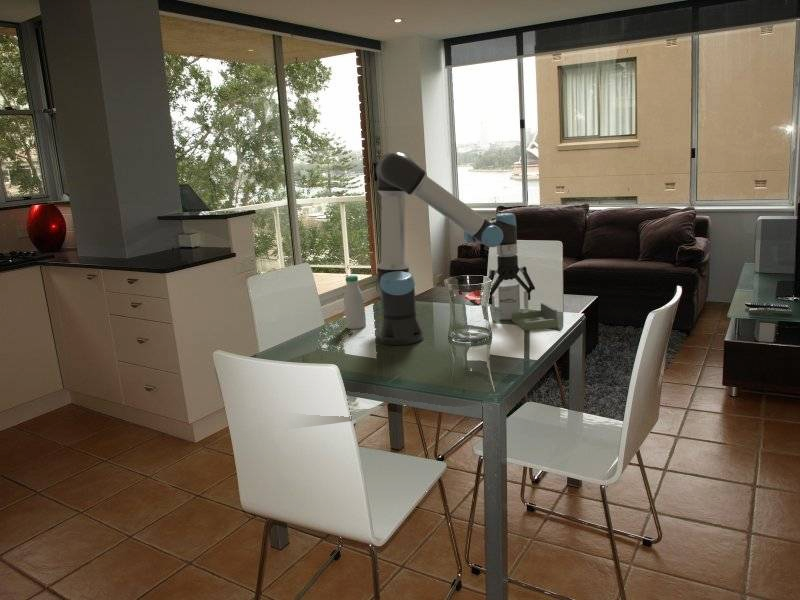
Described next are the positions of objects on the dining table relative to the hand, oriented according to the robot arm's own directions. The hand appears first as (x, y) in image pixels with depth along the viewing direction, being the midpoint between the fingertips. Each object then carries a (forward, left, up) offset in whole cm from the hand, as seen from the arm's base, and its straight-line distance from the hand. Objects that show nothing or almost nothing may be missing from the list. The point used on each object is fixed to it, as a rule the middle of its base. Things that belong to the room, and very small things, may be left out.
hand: (509, 310), depth 247 cm
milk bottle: (-58, +12, -3) cm, 59 cm away
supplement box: (0, 0, -3) cm, 3 cm away
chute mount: (+5, -13, -3) cm, 14 cm away
